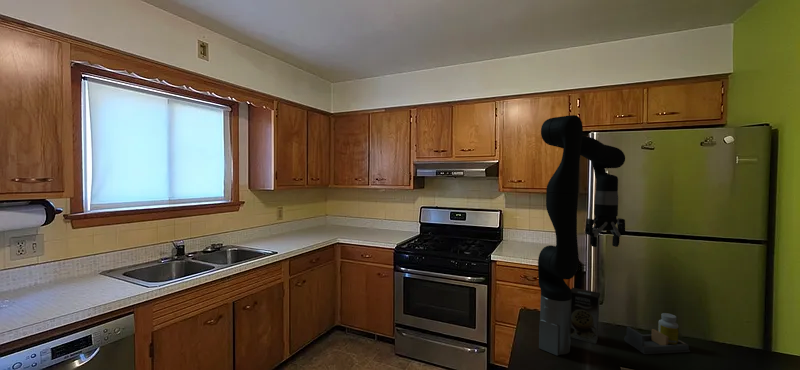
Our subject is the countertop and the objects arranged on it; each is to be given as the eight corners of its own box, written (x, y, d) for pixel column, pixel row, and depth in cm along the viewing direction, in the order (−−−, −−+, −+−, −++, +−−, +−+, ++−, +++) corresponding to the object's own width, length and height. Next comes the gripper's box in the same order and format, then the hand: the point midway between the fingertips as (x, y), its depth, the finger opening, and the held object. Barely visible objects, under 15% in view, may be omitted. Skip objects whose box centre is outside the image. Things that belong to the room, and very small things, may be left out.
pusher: (665, 348, 114) (666, 337, 113) (651, 339, 119) (651, 329, 119) (668, 348, 114) (668, 337, 114) (653, 339, 119) (653, 328, 119)
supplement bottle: (681, 348, 114) (682, 319, 113) (662, 347, 115) (664, 317, 115) (671, 340, 119) (673, 312, 119) (654, 339, 120) (655, 311, 120)
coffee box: (566, 337, 122) (568, 291, 122) (570, 330, 128) (571, 286, 127) (596, 344, 117) (598, 297, 116) (598, 337, 122) (600, 291, 122)
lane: (644, 354, 111) (645, 337, 111) (623, 340, 120) (624, 325, 120) (690, 351, 113) (691, 335, 113) (666, 338, 122) (667, 323, 122)
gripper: (594, 204, 125) (593, 249, 126) (631, 204, 126) (630, 248, 127) (581, 202, 132) (580, 244, 133) (616, 202, 134) (615, 244, 135)
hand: (604, 246), depth 130 cm, fingers open, 8 cm apart
